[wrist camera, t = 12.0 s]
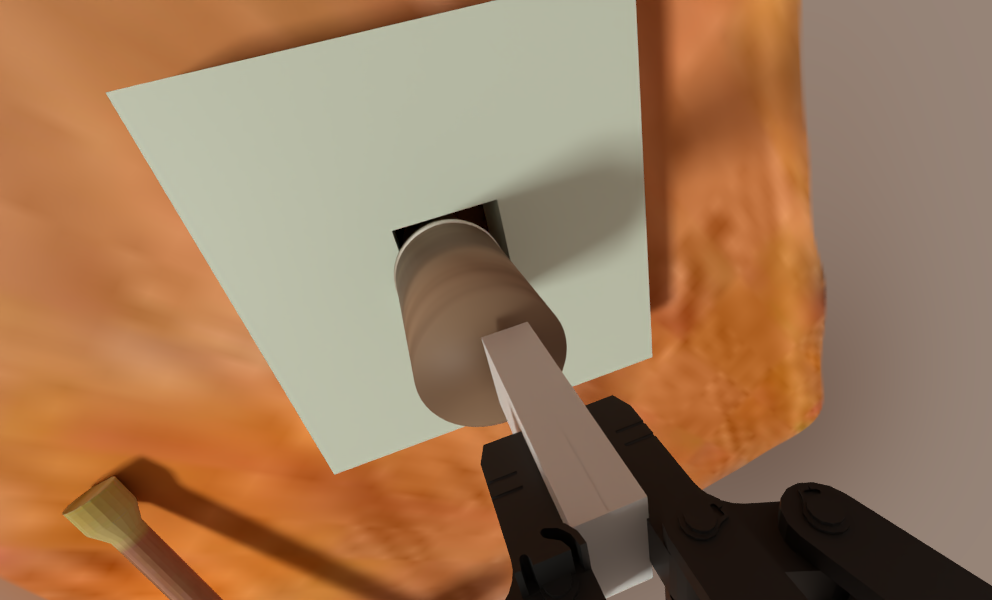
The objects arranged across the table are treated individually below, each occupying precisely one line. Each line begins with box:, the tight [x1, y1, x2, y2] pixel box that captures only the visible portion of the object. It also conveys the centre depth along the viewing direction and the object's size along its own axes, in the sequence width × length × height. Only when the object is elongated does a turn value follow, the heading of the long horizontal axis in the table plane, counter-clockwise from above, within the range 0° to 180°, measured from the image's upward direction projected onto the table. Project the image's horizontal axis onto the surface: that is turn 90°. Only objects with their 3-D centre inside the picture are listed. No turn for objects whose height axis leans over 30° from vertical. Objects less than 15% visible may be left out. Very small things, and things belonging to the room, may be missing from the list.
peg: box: [394, 213, 567, 427], centre depth 20 cm, size 5×5×12 cm
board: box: [106, 0, 652, 474], centre depth 23 cm, size 20×20×4 cm
